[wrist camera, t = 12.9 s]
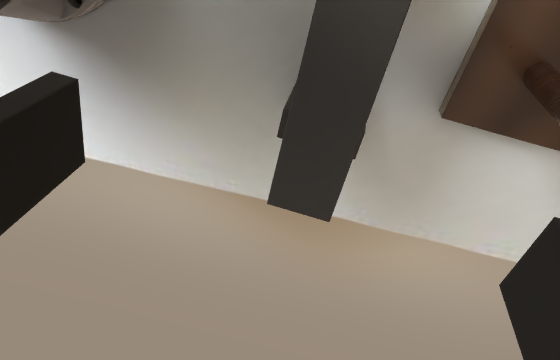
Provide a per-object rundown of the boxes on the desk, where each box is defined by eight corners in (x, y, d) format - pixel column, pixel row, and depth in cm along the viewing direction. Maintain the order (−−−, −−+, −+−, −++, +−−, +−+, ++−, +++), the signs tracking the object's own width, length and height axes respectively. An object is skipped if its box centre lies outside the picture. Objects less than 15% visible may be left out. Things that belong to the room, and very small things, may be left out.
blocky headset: (290, 111, 36) (251, 199, 25) (348, -124, 26) (325, -151, 15) (355, 129, 36) (345, 227, 25) (438, -102, 26) (482, -112, 15)
